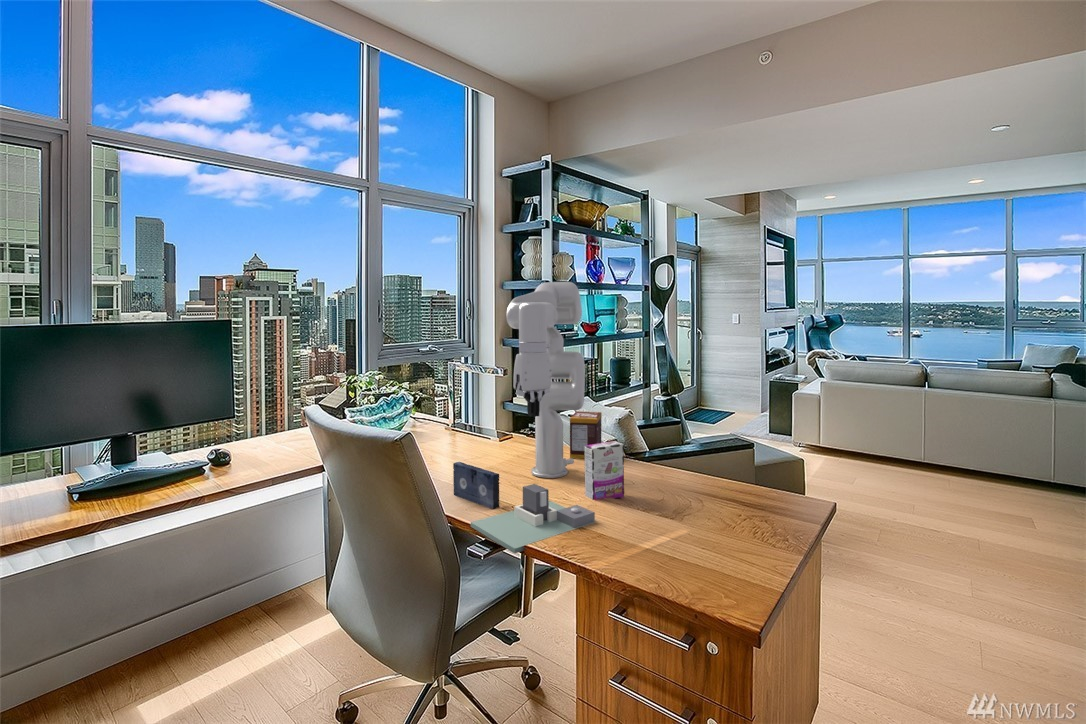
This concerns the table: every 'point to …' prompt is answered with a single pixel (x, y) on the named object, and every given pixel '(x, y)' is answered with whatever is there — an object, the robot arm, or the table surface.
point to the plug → (536, 500)
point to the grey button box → (575, 516)
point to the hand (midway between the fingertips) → (533, 415)
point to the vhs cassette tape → (476, 485)
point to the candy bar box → (604, 470)
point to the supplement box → (584, 432)
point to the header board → (522, 527)
